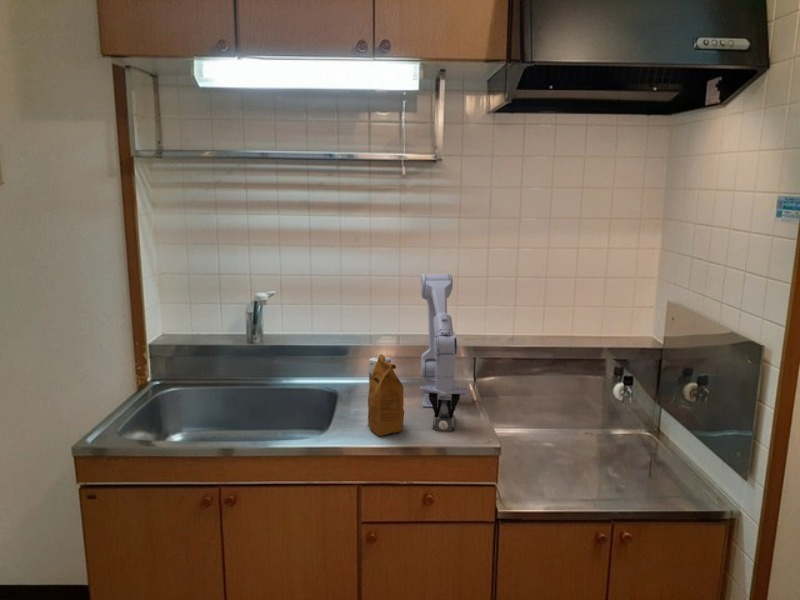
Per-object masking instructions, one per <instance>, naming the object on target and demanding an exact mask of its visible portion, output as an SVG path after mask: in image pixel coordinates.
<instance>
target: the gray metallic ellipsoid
mask: <svg viewBox="0 0 800 600" xmlns="http://www.w3.org/2000/svg"><path fill="white" fill-rule="evenodd" d="M451 397H452V396H449V395H446V396H441V397H439V398H438V399H450V400H451Z"/></svg>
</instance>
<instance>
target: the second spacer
mask: <svg viewBox="0 0 800 600" xmlns="http://www.w3.org/2000/svg"><path fill="white" fill-rule="evenodd" d="M450 415H451V400H450V399H438V412H437V418H441V419H450Z"/></svg>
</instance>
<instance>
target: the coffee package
mask: <svg viewBox="0 0 800 600" xmlns="http://www.w3.org/2000/svg"><path fill="white" fill-rule="evenodd" d="M378 356H379V358H378V361H377V363H376V366H375V369H374V371H373V373H372V377H371V380H370V387H369V386H368V396H367V397H368V398H367V409H368V412H367V413H368V414H367V423H368V425H369V429H370V430H371V432H373V434H376V436H378V437H382V436H385V435H388V434H390V433H394V434H395V433H399V432H402V431H404V418H405V409H404V405H405V403H404V401H405V400H404V386H403V384H402V382H401V380H400V379H399V378H398V375H396V373H395V371H394V370H396V369H397V366H396V365H395V364H393V363H392V362H391V363H387V362H385V357H386V356H384V355H383V354H379V355H378Z"/></svg>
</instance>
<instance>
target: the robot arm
mask: <svg viewBox="0 0 800 600" xmlns="http://www.w3.org/2000/svg"><path fill="white" fill-rule="evenodd" d="M453 282H454V281H453V276H452V274H451V273H450V272H448V273H422V275H421V277H420V295H421V298H422V299H423V300H426V303H427V307H428V309H427V310H428V313H427V314H428V316H427V317H428V348H427V350H425V351H424V352H423V353H421V356H420V365H419V366H420V376H421V378H423V379H424V385H420V389H419V391H420V393H419V395H424V397H423V401H422V407H423V408H433V413H434V414H435V418H437V412H438V398H439V397H441V396H450V397H451V415H450V418H451V419H452V418H453V413H454V414H455V410H456V408H457V405H458V403H459V401H460V396H464V397H469V396H470V395H469V394H470V393H469V391H470V390H469V389H470V388H469V387H461V386H456V385H455V367H456V366H455V361H456V355H457V353H458V340H457V335H456V332H454V326H453V318H452V316H451V315H450V314H448V299H449V298H450V296H451V294H452V291H453V286H454V284H453Z"/></svg>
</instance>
